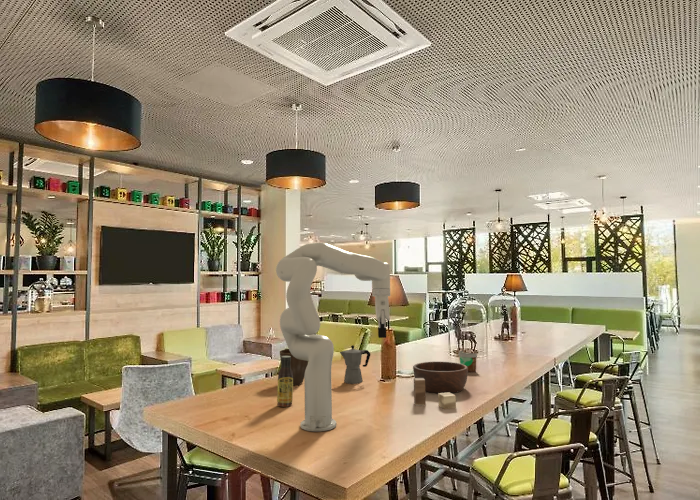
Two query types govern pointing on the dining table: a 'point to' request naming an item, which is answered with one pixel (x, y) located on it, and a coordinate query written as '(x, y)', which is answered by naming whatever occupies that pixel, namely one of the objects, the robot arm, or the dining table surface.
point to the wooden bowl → (442, 376)
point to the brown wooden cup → (296, 367)
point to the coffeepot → (354, 364)
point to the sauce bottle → (285, 383)
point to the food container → (468, 360)
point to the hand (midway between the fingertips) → (382, 337)
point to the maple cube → (447, 400)
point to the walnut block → (419, 391)
